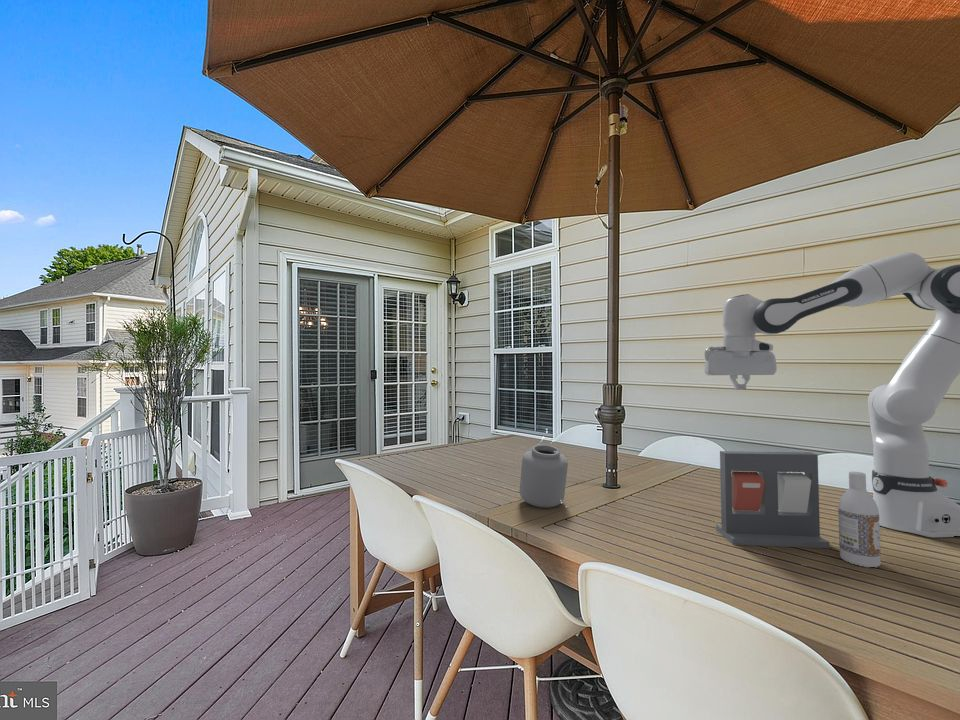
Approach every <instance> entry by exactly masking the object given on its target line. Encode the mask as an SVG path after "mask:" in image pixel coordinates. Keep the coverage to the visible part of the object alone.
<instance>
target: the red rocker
mask: <svg viewBox="0 0 960 720" xmlns="http://www.w3.org/2000/svg"><path fill="white" fill-rule="evenodd" d="M731 479H732V510H745V511H760V504H761V498H762V492H763V487H764V480H763V479H762V477H761V476H760V475H759V472H758V471H731Z"/></svg>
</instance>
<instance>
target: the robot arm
mask: <svg viewBox="0 0 960 720" xmlns="http://www.w3.org/2000/svg"><path fill="white" fill-rule="evenodd" d="M898 295H904V297H906V298H907V299H908V300H909V301H910V302H911V303H912V304H913V305H914V306H916V307H917V308H919V309H922V310H926V311H935V317H934V320H933V322H932V324H931V325H930V327H929V328H927V330H926V331H925V332H924V333H923V334H922V336H921V337H920V338H919V339H918V341H917V342H916V343H915V345H913V347H911V349H910V351H908V353H907V354H906V356H904V358H903V360H902V361H901V364H900V366H899V367H898V369H897V371H896V372H895V374H894V376H893V377H892V378H891V380H890V382H888V383H885V384H881V385H879V386H876V387H875V388H874V389H872V390H871V391H870V393H869V395H868V397H867V410H868V419H869V424H870V425H869V426H870V431H871V438H872V449H873V450H872V451H873V456H872V457H873V469H872V471H871V484H872V490H873V496H872V498H873V499H874V501H875V502H876V504H877V506H878V510H879V522H880V526H881V527H884V528H888V529H891V530H896V531H899V532H903V533H904V532H906V533H911V534H914V535H915V534H916V535H918V536H919V535H920V536H922V537H923V536H924V537H927V538H934V539H935V538H955V537H954V536H960V504H958V503H957V502H955V501H954V500H952V499H951V498H949V497H948V496H946V495H944V494H943V493H941V492H940V491H938V488H937V487H941V488H947V487H948V486H949V485H948V484H949V483H948V481H947V480H945V479H942V478H938V477H937V478H933V477H932V476H930V462H929V460H930V458H929V457H930V456H929V446H928V443H927V440H926V437H925V436H926V435H925V432H924V428H923V424H924V423H926V422H929V420H931V419H932V418H933V417H934V415H935V413H936V410H937V408H938V407H939V405H941V402H942V401H943V399H944V398H945V397H946V395H947V393H948V391H949V390H950V388H951V386H952V385H953V383H954V381H955V380H956V379H957V377H959V375H960V264H952V265H950V266H945V267H941V268H932V267H931V266H930V265H929V264H928V263H927V261H926V260H925V258H924V257H922V256H921V255H920V254H918V253H915V252H903V253H899V254H893V255H890V256H887V257H883V258H879V259H876V260H873V261H871V262H868V263H865V264H862V265H861V266H858V267H856V268H855V267H854V268H853V269H851V270H850V271H847V272H845V273H843V274H841V275H840V276H839V277H837V278H835V279H834V280H832V281H831V282H830V283H828V284H826V285H824V286H821V287H820V288H818V287H817V288H816V289H813V290H811V291H807V292H804V293H802V294H800V295H797V296H794V297H793V296H792V297H784V298H783V297H782V298H778V297H777V298H770V299H767V300H762V299H759V298H756V297H755V296H752V295H751V294H740V295H735V296H733V297H730V298H728V299H727V300H726V301H725V302H724V304H723V308H722V327H723V330H724V331H723V336H722V345H723V346H709V347H708V348H706V349H705V351H704V358H705V361H704V363H705V364H704V373H705V375H706V376H729V380H730V381H731V382H732V384H733V389H734V390H735V391H736V390H737V391H739V390H741V391H745V390H747V384H748V383H749V381H750V379H751V376H774V375H775V374H776V373H777V360H776V355H775V354H774V352H772V351H774V345H773V344H772V343H768V342H764V341H760V340H757V339H756V334H762V335H767V336H774V335H778V334H780V333H783V332H786V331H787V330H789V329H790V328H791V327H793V326H794V325H795V324H796V323H797V322H798V321H800V320H801V319H803V318H806V317H808V316H811V315H815V314H818V313H820V312H823V311H825V310H829V309H832V308H836V307H841V306H842V307H851V308H857V307H861V306H866V305H870V304H874V303H877V302H881V301H883V300H886V299H889V298H891V297H894V296H898ZM738 376H742V377H741V378H742V379H743V381H742V382H741V383H739V382H738V381H737V380H738Z"/></svg>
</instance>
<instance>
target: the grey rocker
mask: <svg viewBox="0 0 960 720" xmlns="http://www.w3.org/2000/svg"><path fill="white" fill-rule="evenodd" d="M777 476H778V511H779V512H799V513H807V508H808V501H809V494H810V487H811V480H810V479H809V478H808V477H806V476H805V473H804V472H777Z"/></svg>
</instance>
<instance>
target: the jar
mask: <svg viewBox="0 0 960 720" xmlns="http://www.w3.org/2000/svg"><path fill="white" fill-rule="evenodd" d="M545 430H546V431H545V432H546V433H547V434H548V428H546V429H545ZM543 439H545V436H542V439H541V441H540V443H541V442H542V440H543ZM552 442H553V443H554V440H552ZM552 442H551V443H552ZM568 462H569V461H568V460H567V458H566V456H565V455H563V454H562V453H561V450H560V449H559V448H558V447H555V446H552V445H549V444H535V445H533V446H532V447H531V449H530V450H527V451H525V452H524V453H523V455H522V459H521V469H520V471H521V473H520V482H519V483H520V484H519V496H520V497H521V499H522V500H524V502H525V503H527V504H528V505H531V506H533V507H536V508H541V509H542V508H543V509H549V508H555V507H557V506H559V505H561V504H563V501H564V499H565V493H566V492H565V491H566V487H567V486H566V485H567V484H566V483H567V474H568V465H569V463H568ZM565 508H567V506H565Z"/></svg>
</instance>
